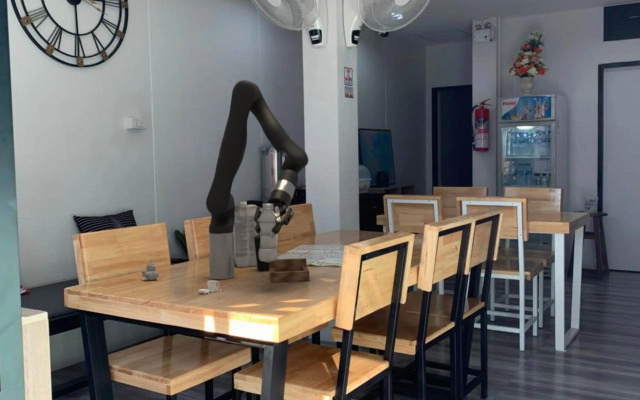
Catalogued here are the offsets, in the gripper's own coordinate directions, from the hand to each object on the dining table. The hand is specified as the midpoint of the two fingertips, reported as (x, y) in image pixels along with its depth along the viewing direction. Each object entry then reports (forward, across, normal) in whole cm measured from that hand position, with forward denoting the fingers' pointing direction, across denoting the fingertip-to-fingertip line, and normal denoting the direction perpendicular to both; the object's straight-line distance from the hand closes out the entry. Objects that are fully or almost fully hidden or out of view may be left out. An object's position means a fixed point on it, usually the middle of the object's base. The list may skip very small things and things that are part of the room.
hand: (266, 232), depth 217 cm
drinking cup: (-10, -20, +39) cm, 45 cm away
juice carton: (-15, -32, +45) cm, 57 cm away
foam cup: (-39, -39, +69) cm, 89 cm away
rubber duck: (+13, -51, +17) cm, 56 cm away
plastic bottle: (+6, 0, +9) cm, 11 cm away
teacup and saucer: (+20, -20, +10) cm, 30 cm away
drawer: (-1, -2, +30) cm, 30 cm away
